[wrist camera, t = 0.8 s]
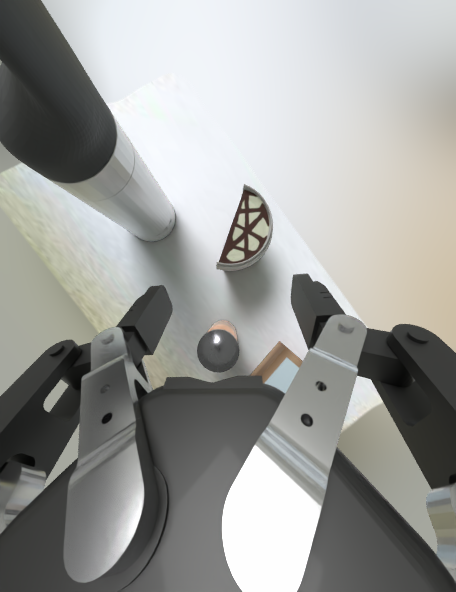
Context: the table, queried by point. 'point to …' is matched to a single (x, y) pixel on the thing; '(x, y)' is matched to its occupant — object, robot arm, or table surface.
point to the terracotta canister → (219, 347)
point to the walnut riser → (278, 367)
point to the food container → (247, 232)
